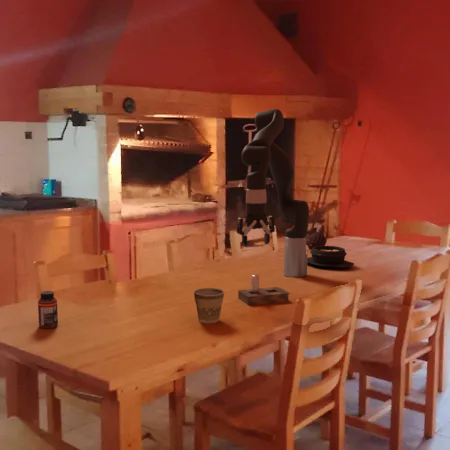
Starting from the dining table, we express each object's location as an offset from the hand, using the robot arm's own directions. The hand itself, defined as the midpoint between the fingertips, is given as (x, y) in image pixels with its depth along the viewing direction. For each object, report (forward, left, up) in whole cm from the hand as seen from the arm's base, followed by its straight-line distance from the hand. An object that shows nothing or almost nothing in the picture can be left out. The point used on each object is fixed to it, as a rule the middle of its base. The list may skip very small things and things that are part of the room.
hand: (255, 244), depth 235 cm
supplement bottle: (+76, +8, -21) cm, 79 cm away
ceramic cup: (+24, +18, -21) cm, 36 cm away
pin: (+1, +2, -21) cm, 21 cm away
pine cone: (-69, -80, -21) cm, 108 cm away
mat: (-11, -8, -21) cm, 25 cm away
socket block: (-2, +2, -21) cm, 21 cm away
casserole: (-56, -45, -21) cm, 75 cm away
